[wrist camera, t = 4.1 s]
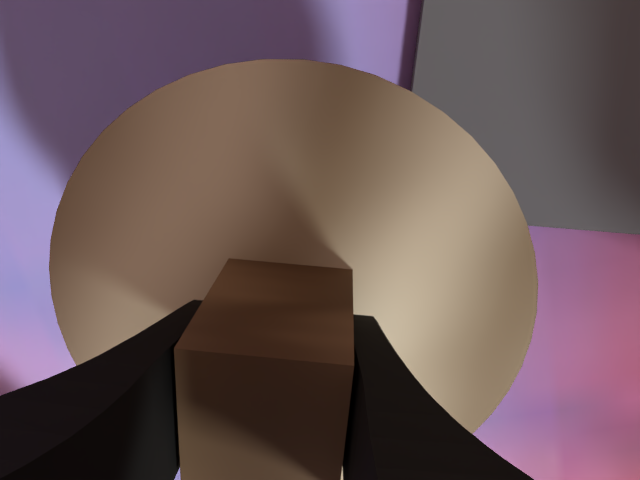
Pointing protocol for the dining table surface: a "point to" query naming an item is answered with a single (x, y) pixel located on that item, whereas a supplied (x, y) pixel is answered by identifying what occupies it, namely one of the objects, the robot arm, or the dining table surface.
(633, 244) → the dining table surface
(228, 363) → the lid
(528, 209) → the mat
